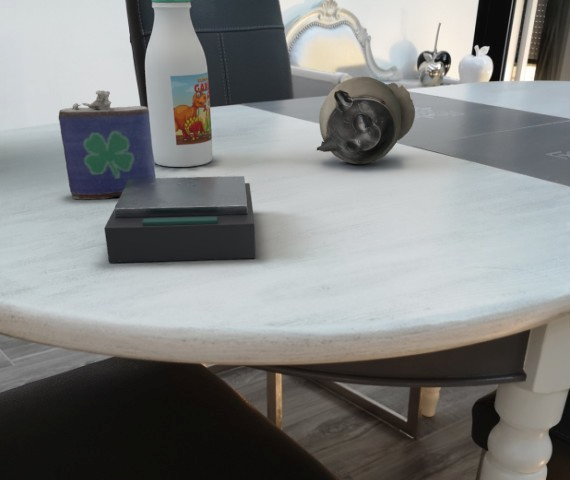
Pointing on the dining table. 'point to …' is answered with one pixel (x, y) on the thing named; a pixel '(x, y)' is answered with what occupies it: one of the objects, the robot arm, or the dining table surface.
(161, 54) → the milk bottle
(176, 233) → the scale
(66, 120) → the flask
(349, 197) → the dining table surface
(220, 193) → the scale platform
